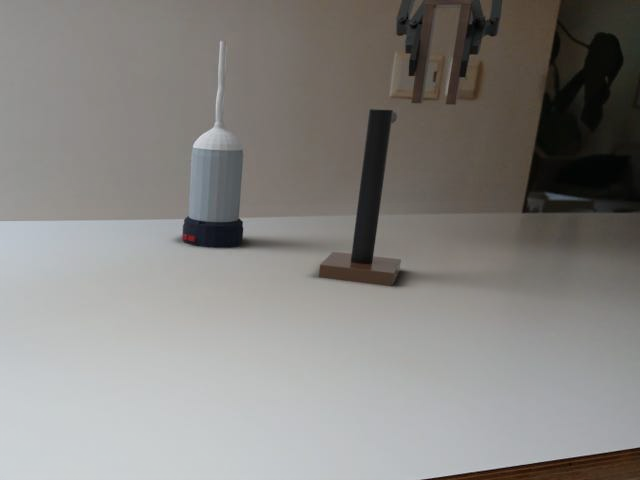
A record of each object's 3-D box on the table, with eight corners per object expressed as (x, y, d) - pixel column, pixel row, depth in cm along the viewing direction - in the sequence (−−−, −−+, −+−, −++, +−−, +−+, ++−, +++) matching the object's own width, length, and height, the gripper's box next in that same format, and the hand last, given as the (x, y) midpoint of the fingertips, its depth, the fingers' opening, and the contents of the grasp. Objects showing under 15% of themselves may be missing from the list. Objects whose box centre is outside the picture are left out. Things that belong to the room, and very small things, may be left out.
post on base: (404, 261, 93) (427, 109, 87) (391, 286, 80) (417, 111, 74) (340, 253, 96) (357, 106, 89) (318, 277, 83) (337, 108, 77)
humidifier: (174, 244, 98) (183, 38, 89) (191, 234, 105) (201, 43, 96) (234, 250, 95) (249, 39, 87) (248, 239, 103) (262, 44, 94)
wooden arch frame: (456, 104, 101) (473, -3, 97) (455, 104, 98) (472, -7, 93) (413, 103, 103) (428, -2, 99) (411, 103, 100) (426, -6, 95)
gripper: (530, -30, 104) (511, 92, 96) (394, -27, 111) (364, 88, 102) (540, -81, 98) (520, 45, 89) (395, -74, 104) (363, 44, 96)
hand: (437, 68), depth 96 cm, fingers closed on wooden arch frame, 6 cm apart
